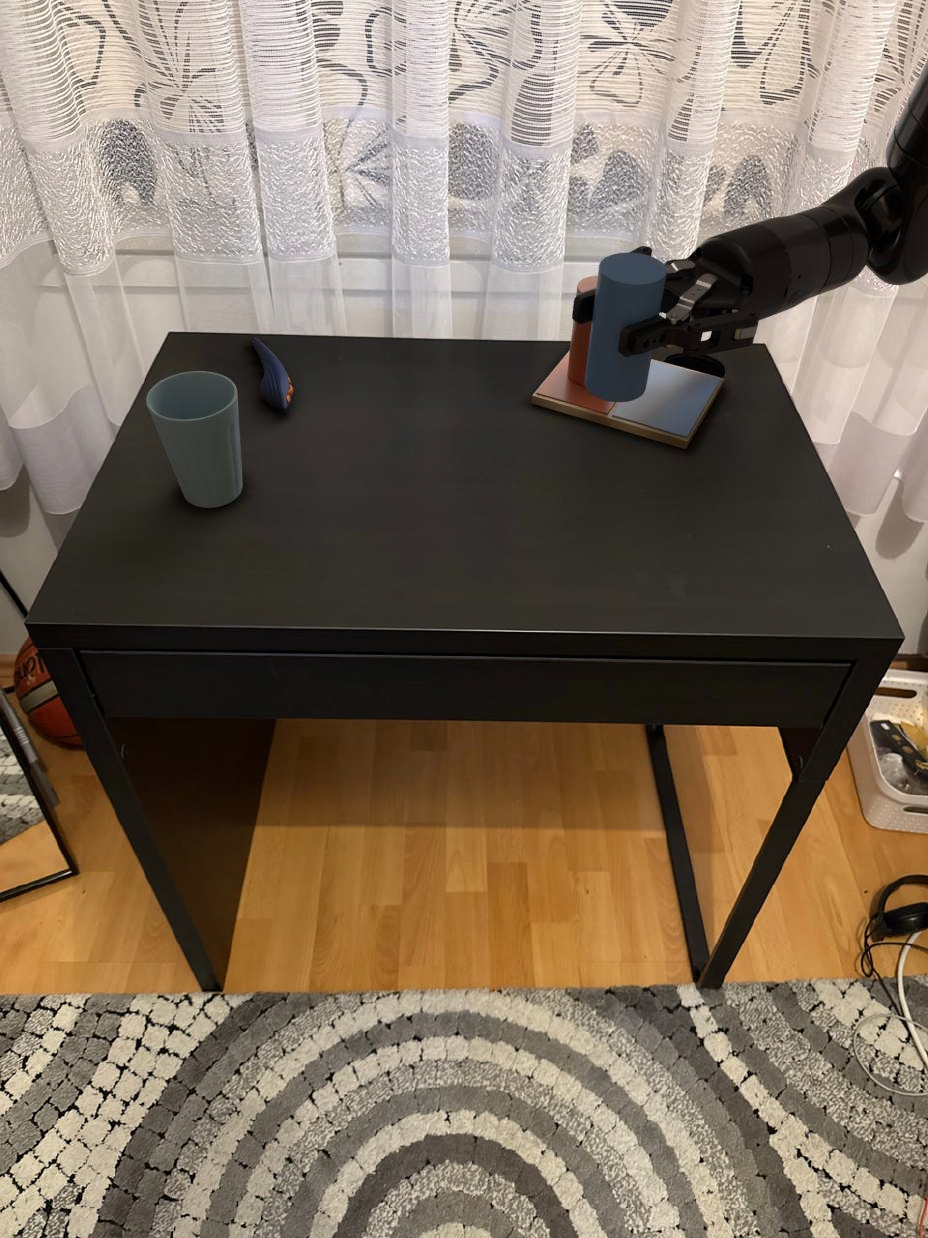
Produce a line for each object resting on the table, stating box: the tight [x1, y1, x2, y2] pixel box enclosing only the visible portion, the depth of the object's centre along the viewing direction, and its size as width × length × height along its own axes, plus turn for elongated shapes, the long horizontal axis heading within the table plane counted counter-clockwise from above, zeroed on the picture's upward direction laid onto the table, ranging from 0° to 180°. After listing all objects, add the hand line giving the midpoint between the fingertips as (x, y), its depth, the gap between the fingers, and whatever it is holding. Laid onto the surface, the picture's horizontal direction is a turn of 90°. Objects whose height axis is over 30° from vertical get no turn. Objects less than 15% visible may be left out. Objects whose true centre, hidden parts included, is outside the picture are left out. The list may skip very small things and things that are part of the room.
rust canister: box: [567, 275, 598, 386], centre depth 97 cm, size 5×5×10 cm
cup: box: [145, 370, 244, 509], centre depth 84 cm, size 8×8×10 cm
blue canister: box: [585, 252, 667, 402], centre depth 72 cm, size 5×5×10 cm
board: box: [531, 350, 725, 450], centre depth 100 cm, size 17×13×1 cm
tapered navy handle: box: [250, 336, 294, 411], centre depth 100 cm, size 16×4×2 cm, turn 20°
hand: (599, 326), depth 71 cm, fingers closed on blue canister, 5 cm apart
